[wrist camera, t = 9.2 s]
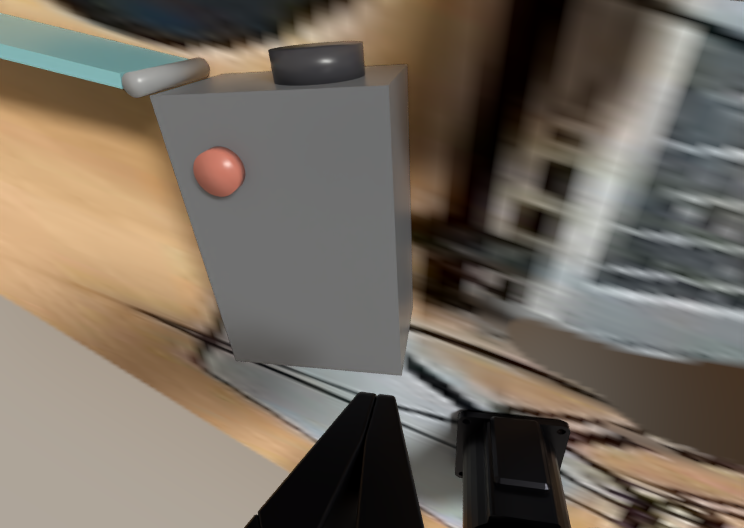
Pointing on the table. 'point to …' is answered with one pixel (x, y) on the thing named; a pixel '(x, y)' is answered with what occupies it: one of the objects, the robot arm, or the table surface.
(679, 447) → the table surface
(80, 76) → the side door
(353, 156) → the box
